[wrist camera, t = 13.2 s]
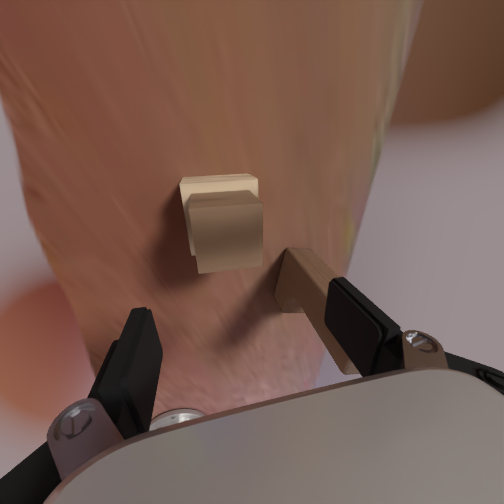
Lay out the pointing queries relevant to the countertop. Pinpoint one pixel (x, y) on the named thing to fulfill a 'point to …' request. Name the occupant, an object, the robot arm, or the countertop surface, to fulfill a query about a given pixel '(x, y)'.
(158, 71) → the countertop surface
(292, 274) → the wooden block
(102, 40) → the countertop surface
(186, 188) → the oak block
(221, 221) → the walnut cube
